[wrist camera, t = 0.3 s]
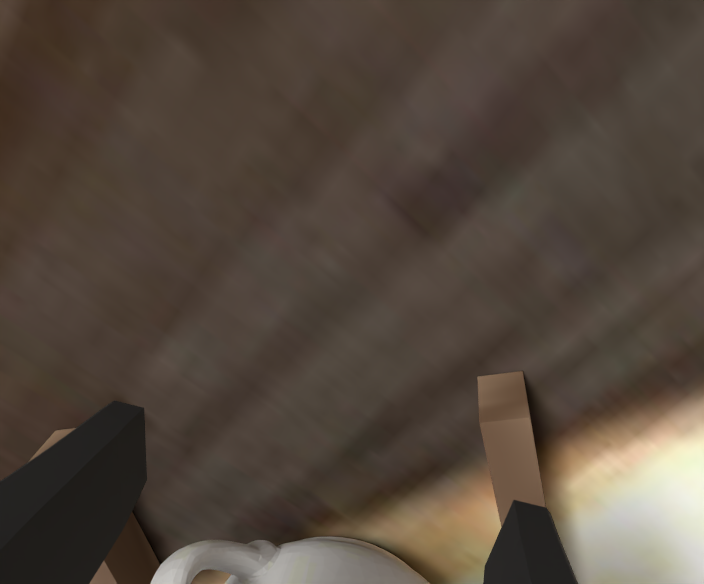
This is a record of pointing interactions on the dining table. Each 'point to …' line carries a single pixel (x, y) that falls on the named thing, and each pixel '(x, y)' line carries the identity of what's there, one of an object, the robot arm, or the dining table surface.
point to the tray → (501, 450)
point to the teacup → (289, 563)
